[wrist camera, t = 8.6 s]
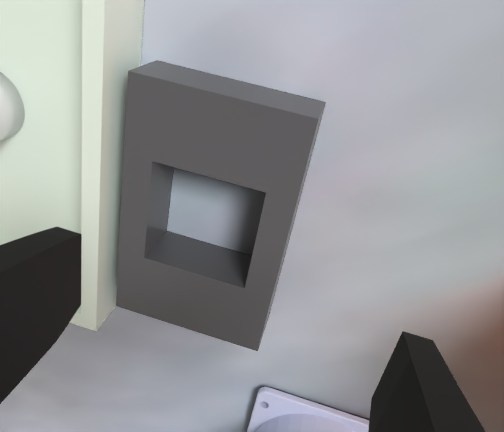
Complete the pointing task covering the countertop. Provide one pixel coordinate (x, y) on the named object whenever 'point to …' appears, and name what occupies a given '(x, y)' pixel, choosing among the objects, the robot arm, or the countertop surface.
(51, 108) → the parts tray
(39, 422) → the countertop surface
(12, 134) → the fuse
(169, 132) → the fuse holder
